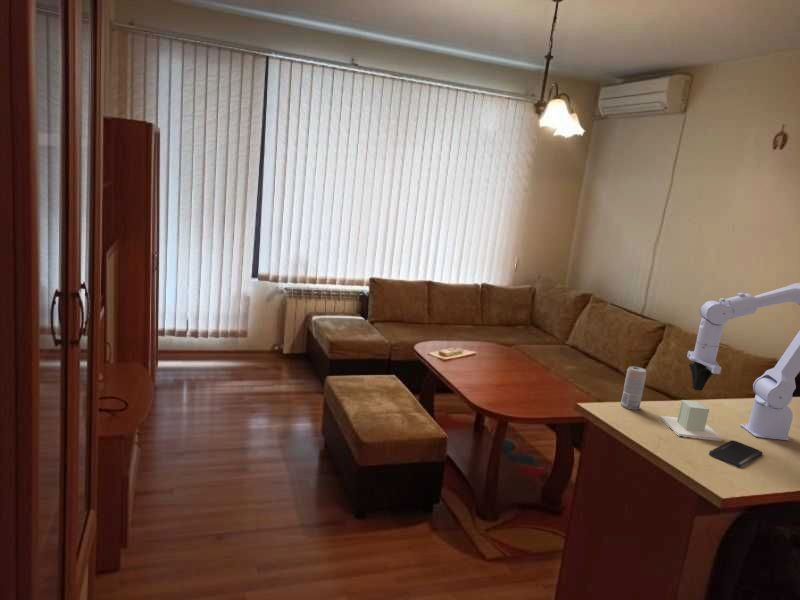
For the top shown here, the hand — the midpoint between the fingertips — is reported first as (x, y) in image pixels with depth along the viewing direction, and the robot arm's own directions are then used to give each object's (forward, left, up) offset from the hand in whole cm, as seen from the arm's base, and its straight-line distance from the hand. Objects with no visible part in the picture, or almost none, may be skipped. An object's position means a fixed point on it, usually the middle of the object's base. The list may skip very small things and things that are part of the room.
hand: (697, 389), depth 165 cm
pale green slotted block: (+3, +5, -9) cm, 11 cm away
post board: (+3, +5, -10) cm, 12 cm away
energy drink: (+15, -8, -10) cm, 19 cm away
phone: (-3, +19, -11) cm, 22 cm away
